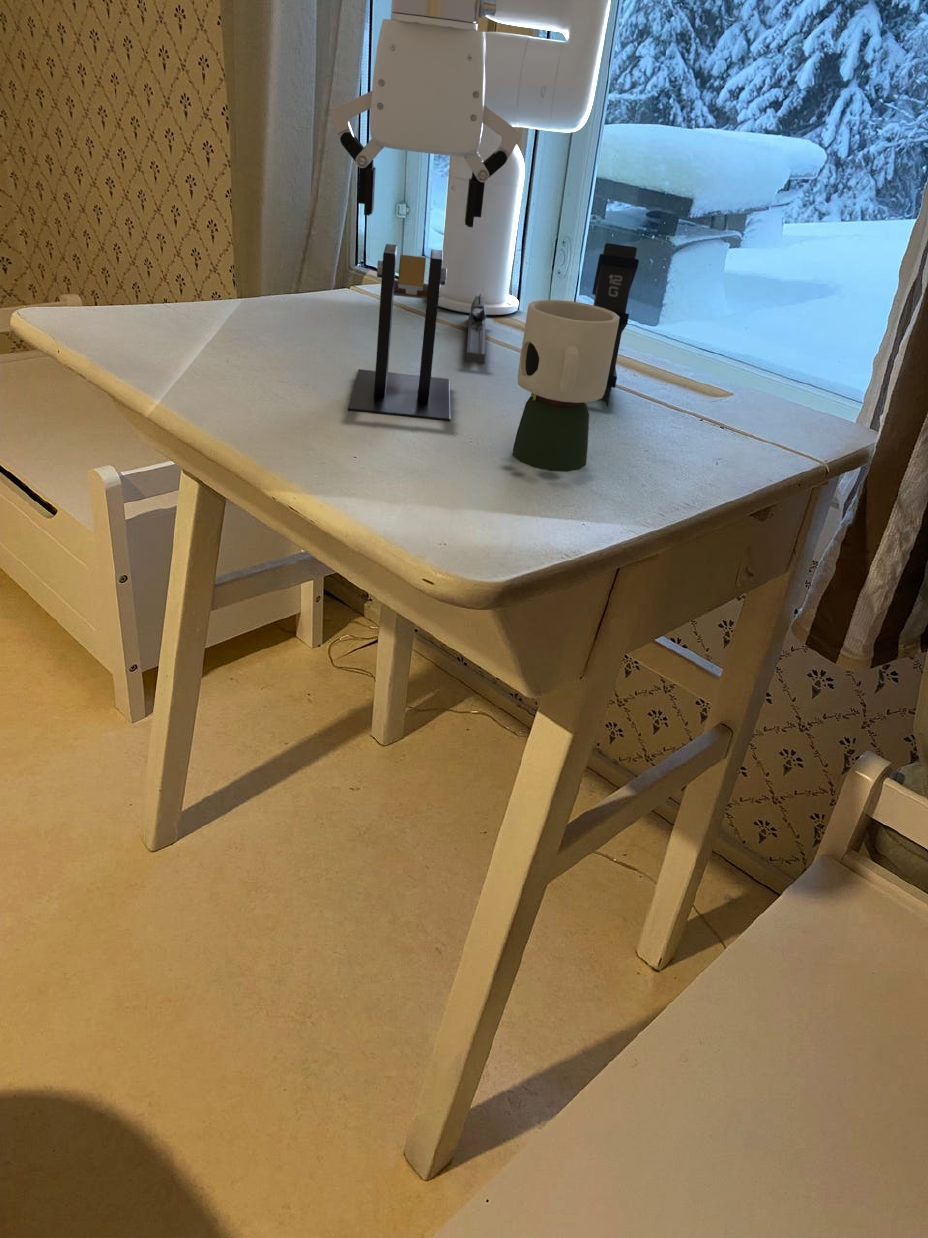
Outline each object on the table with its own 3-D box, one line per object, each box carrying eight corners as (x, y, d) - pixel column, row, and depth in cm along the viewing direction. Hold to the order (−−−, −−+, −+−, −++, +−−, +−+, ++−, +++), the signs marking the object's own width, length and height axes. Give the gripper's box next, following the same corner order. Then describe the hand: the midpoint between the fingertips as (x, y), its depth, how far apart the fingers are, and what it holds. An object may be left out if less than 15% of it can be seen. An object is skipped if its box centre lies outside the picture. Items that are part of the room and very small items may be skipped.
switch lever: (383, 300, 93) (385, 274, 92) (438, 306, 93) (440, 281, 93) (378, 281, 80) (381, 251, 79) (442, 288, 80) (445, 259, 80)
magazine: (574, 399, 90) (602, 241, 88) (570, 418, 103) (594, 280, 101) (613, 405, 89) (641, 246, 88) (603, 423, 102) (628, 285, 101)
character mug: (505, 441, 82) (527, 289, 76) (584, 451, 83) (613, 300, 76) (504, 488, 73) (528, 320, 66) (593, 500, 73) (627, 333, 67)
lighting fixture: (488, 376, 100) (493, 336, 98) (464, 373, 100) (468, 333, 97) (488, 331, 116) (492, 296, 114) (467, 328, 116) (471, 293, 113)
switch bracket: (357, 381, 92) (366, 233, 85) (448, 391, 93) (464, 245, 86) (347, 422, 82) (355, 257, 75) (448, 433, 83) (466, 270, 76)
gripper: (531, 19, 84) (506, 222, 93) (338, -7, 82) (332, 202, 91) (538, 18, 77) (510, 236, 86) (329, -9, 76) (323, 215, 85)
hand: (418, 218), depth 89 cm, fingers open, 9 cm apart
